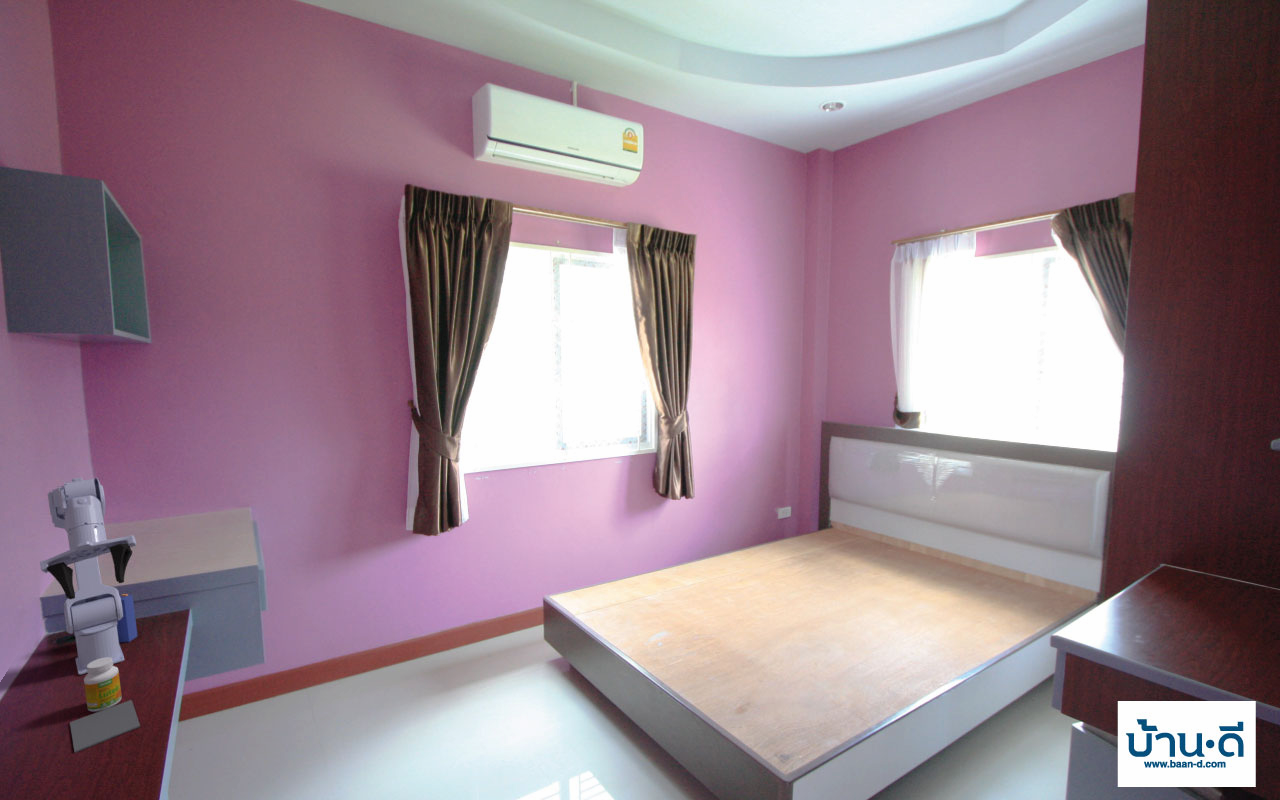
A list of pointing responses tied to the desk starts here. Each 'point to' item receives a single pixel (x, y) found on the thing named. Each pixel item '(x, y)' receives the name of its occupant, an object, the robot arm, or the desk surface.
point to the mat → (103, 725)
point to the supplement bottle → (102, 685)
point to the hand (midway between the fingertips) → (96, 589)
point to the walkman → (127, 620)
